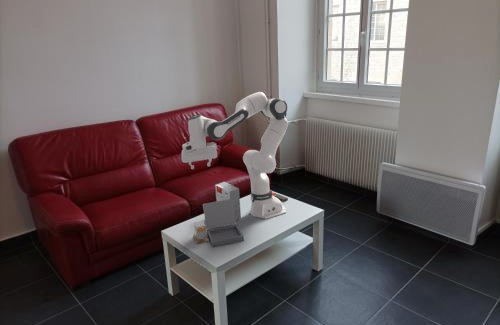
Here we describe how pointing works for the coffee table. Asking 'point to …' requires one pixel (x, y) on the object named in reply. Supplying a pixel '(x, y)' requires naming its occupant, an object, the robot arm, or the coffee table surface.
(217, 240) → the case
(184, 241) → the coffee table surface
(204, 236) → the block
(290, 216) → the coffee table surface
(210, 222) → the lid
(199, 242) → the board
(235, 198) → the hard drive box
